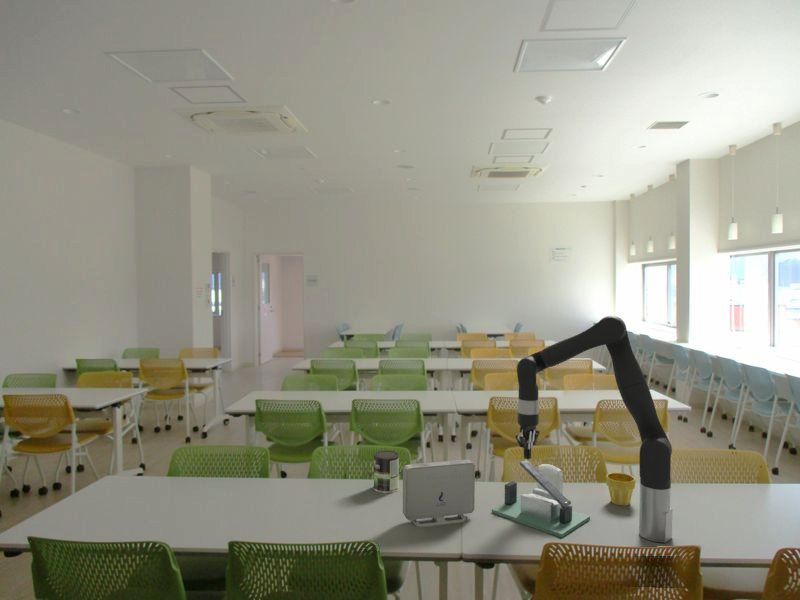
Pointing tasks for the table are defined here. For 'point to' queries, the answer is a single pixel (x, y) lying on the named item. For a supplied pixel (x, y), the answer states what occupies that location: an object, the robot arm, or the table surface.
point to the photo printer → (552, 476)
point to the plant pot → (620, 487)
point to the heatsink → (538, 504)
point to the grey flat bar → (545, 483)
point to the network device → (438, 491)
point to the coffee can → (386, 471)
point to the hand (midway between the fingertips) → (527, 458)
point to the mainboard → (552, 528)
